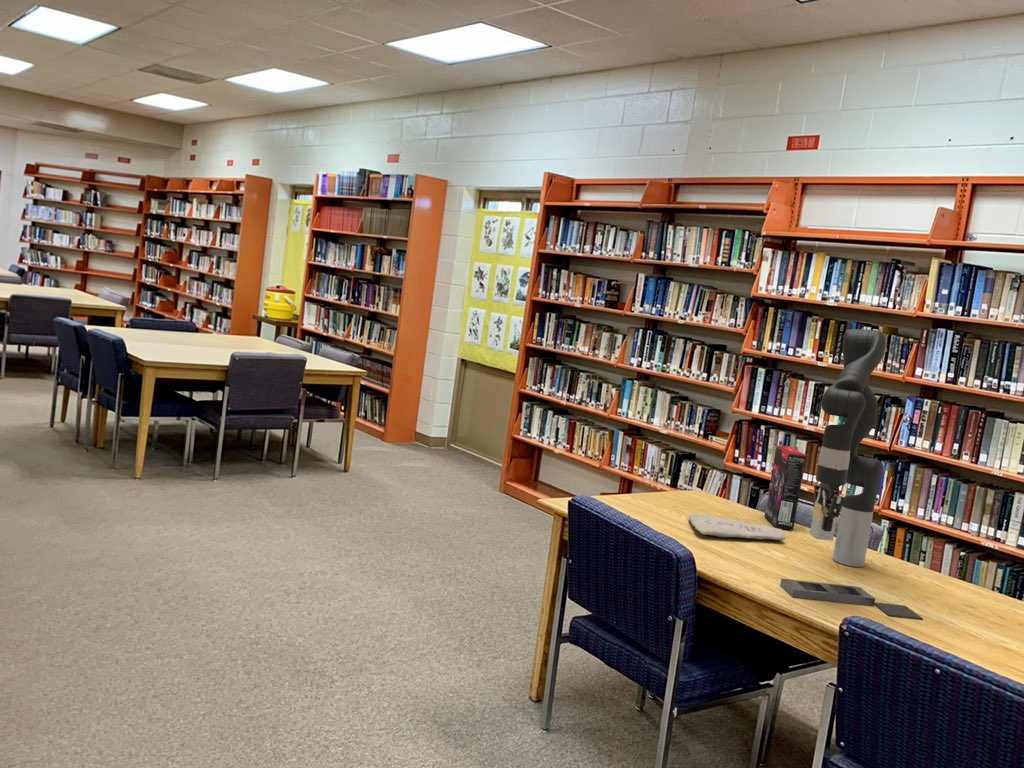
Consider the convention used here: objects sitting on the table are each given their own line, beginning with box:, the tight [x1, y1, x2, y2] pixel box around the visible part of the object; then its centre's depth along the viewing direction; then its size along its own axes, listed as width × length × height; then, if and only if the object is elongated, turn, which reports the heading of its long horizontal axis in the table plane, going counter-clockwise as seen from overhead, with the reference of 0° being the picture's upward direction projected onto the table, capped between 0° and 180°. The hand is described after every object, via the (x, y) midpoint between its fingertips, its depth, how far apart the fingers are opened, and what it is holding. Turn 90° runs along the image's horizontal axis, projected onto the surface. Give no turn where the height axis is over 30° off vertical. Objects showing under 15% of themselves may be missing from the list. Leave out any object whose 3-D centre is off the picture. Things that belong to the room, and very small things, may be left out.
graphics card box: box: [764, 445, 807, 531], centre depth 307 cm, size 17×7×27 cm, turn 178°
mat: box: [874, 601, 924, 621], centre depth 224 cm, size 9×9×1 cm
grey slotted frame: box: [779, 578, 876, 607], centre depth 230 cm, size 9×22×2 cm, turn 92°
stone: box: [688, 513, 787, 541], centre depth 284 cm, size 25×5×30 cm
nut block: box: [809, 501, 838, 541], centre depth 228 cm, size 4×4×9 cm
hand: (822, 527), depth 228 cm, fingers closed on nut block, 4 cm apart
